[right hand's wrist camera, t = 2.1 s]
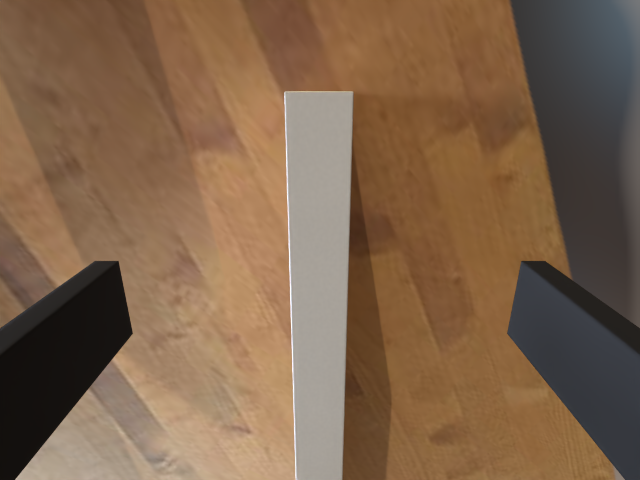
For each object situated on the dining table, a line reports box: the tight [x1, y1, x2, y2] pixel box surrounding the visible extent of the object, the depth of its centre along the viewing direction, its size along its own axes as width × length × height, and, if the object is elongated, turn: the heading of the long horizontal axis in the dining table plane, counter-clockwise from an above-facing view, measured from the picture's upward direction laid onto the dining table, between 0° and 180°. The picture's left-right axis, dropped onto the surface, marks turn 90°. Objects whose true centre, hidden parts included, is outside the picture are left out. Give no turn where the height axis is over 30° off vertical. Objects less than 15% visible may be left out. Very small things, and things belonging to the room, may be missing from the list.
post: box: [284, 91, 354, 480], centre depth 40 cm, size 60×5×9 cm, turn 0°
